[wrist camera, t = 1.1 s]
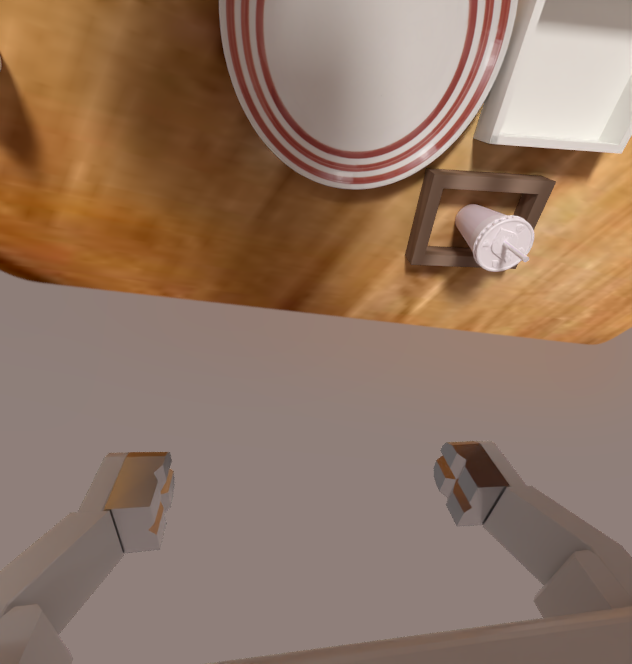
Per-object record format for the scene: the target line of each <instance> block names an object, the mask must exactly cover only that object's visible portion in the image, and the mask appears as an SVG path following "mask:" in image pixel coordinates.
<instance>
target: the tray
mask: <svg viewBox="0 0 632 664" xmlns="http://www.w3.org/2000/svg"><path fill="white" fill-rule="evenodd" d="M631 135H632V0H518V5H517V11H516V17H515V21H514V26H513V30H512V34H511V38H510V42H509V45H508V48H507V52H506V54H505V57H504V60H503V63H502V65H501V68H500V70H499V72H498V75H497V77H496V80H495V82H494V84H493V86H492V88H491V90H490V92H489V94H488V96H487V97H486V99H485V101H484V104H483V108H482V111H481V114H480V117H479V121H478V124H477V127H476V130H475V134H474V137H473V139H476V140H479V141H482V142H485V143H488V144H499V145H513V146H526V147H540V148H554V149H567V150H581V151H594V152H608V153H622V151H623V150H624V148H625V146H626V144H627V142H628V141H629V139H630V137H631Z"/></svg>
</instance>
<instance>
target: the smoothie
mask: <svg viewBox="0 0 632 664" xmlns="http://www.w3.org/2000/svg"><path fill="white" fill-rule="evenodd" d="M455 224H456V227H457V228H458V230H459V231H460V233H461V235H462V236H463V238H464V239H465V241H466V242H467V244H468V245H469V247H470V248H471V250H472V252H473V257H474V259H475V261H476V263H477V264H478V265H480V266H481V267H482V268H483V269H485V270H487V271H492V272H499V271H504V270H507V269H509V268H511V267H513V266H515V265H516V264H518V263H519V262H520V261H524V262H527V261H528V260H529V257H527V256H526V255H527V254H528V252H529V251H530V249H531V247H532V245H533V241H534V230H533V228H532V226H531V225H530V224H529V223H528V222H527V221H526V220H525V219H523V218H521V217H519V216H513V215H509V216H508V215H505V214H502V213H499V212H496V211H494V210H491V209H488V208H485V207H482V206H480V205H477V204H469V205H466V206H464V207H463V208H462V209H461V210H460V211H459V212H458V214H457V216H456V219H455Z"/></svg>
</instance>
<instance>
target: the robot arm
mask: <svg viewBox="0 0 632 664" xmlns="http://www.w3.org/2000/svg"><path fill="white" fill-rule="evenodd" d="M441 453H442V454H443V456H441V457H440V458H439V459H437V460H436V463H435V466H434V478H435V482H436V485H437V487H438V489H439V491H440V492H441V493H442V494H443V495H445V496H446V497H447V503H446V506H447V508H448V510H449V511H450V514H451V515H452V518H453V519H454V522H455V524H456V526H474V525H483V527H484V528H485V529H486V530H487V531H488V532H489V533H490V534H491V535H492V536H493V537H494V538H495V539H496V540H497V541H498V542H499V543H500V544H501V545H502V546H503V547H504V548H506V549H507V550H508V551H509V552H510V553H511V554H512V555H513V556H514V557H515V558H516V559H517V560H518V561H519V562H520V563H521V564H522V565H523V566H524V567H525V568H526V569H527V570H528V571H529V572H531V573H532V574H533V575H534V576H535V577H536V578H537V579H538V580H539V581H540V582H541V583H542V584H543V585H544V586H543V587H542V589H541V590H540V591H539V592H538V593H537V594H536V595H535V598H534V602H535V604H536V606H537V608H538V610H539V611H540V613H541V615H542V617H543V618H540V619H533V620H526V621H519V622H511V623H503V624H496V625H488V626H482V627H473V628H466V629H459V630H451V631H444V632H437V633H429V634H422V635H414V636H407V637H400V638H392V639H385V640H377V641H370V642H362V643H355V644H348V645H341V646H333V647H326V648H319V649H311V650H303V651H296V652H289V653H281V654H274V655H266V656H259V657H251V658H245V659H237V660H230V661H222V662H215V663H208V664H632V557H631V556H630V555H629V553H628V552H627V551H626V550H625V549H624V548H623V546H622V545H620V544H619V543H617V542H616V541H614V540H613V539H611V538H610V537H608V536H606V535H605V534H604V533H602V532H601V531H599V530H598V529H596V528H595V527H593V526H592V525H590V524H588V523H587V522H585V521H584V520H582V519H581V518H579V517H578V516H576V515H575V514H573V513H572V512H570V511H569V510H567V509H566V508H564V507H563V506H561V505H560V504H558V503H557V502H555V501H554V500H552V499H551V498H549V497H548V496H546V495H545V494H543V493H542V492H540V491H539V490H537V489H536V488H534V487H533V486H527V485H526V484H525V482H524V481H523V480H522V478H521V477H520V476H519V474H518V473H517V472H516V470H515V469H514V468H513V466H512V465H511V464H510V462H509V461H508V460H507V458H506V457H505V456H504V454H503V453H502V452H501V450H500V449H499V448H498V446H497V445H496V444H495V443H494V442H492V441H476V442H475V441H467V442H447V443H445V444H444V445H443V446H442V448H441ZM171 462H172V459H171V454H170V452H130V453H129V452H128V453H109V454H108V455H107V456H106V457H105V458H104V459H103V462H102V463H101V465H100V467H99V469H98V471H97V473H96V476H95V478H94V480H93V482H92V484H91V486H90V488H89V490H88V492H87V494H86V496H85V498H84V500H83V502H82V504H81V506H80V508H79V510H78V512H73V513H70V514H69V515H67V516H66V517H65V518H64V519H62V520H61V521H60V522H59V523H58V524H56V525H55V526H54V527H53V528H52V529H51V530H49V531H48V532H47V533H46V534H44V535H43V536H42V537H41V538H40V539H38V540H37V541H36V542H35V543H33V544H32V545H31V546H30V547H29V548H27V549H26V550H25V551H24V552H23V553H21V554H20V555H19V556H18V557H16V558H15V559H14V560H13V561H12V562H10V563H9V564H8V565H7V566H6V567H4V568H3V569H2V570H1V571H0V664H72V661H73V657H72V655H71V653H70V651H69V650H68V648H67V647H66V645H65V644H64V642H63V641H62V640H61V638H60V637H59V634H60V633H61V631H62V630H63V629H64V628H65V626H66V625H67V624H68V623H69V622H70V620H71V619H72V618H73V617H74V616H75V614H76V613H77V612H78V610H80V608H81V607H82V606H83V605H84V603H85V602H86V601H87V600H88V599H89V597H90V596H91V595H92V594H93V593H94V591H95V590H96V589H97V588H98V586H99V585H100V584H101V583H102V582H103V580H104V579H105V578H106V577H107V576H108V574H109V573H110V572H111V570H112V569H113V568H114V567H115V566H116V565H117V564H118V562H119V561H120V560H121V559H122V557H123V556H124V554H123V553H132V552H142V551H151V550H159V549H160V547H161V543H162V539H163V535H164V531H165V527H166V518H165V512H166V511H167V510H168V509H169V508H170V507H171V503H172V498H173V492H174V471H172V470H171V469H170V465H171Z"/></svg>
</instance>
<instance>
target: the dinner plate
mask: <svg viewBox="0 0 632 664" xmlns="http://www.w3.org/2000/svg"><path fill="white" fill-rule="evenodd" d="M517 5H518V0H219V19H220V30H221V39H222V45H223V50H224V55H225V59H226V64H227V68H228V71H229V75H230V78H231V81H232V84H233V87H234V90H235V92H236V95H237V97H238V100H239V102H240V104H241V106H242V108H243V110H244V112H245V114H246V116H247V118H248V120H249V121H250V123H251V125H252V126H253V128H254V130H255V131H256V133H257V134H258V135H259V137H260V138H261V139H262V141H263V142H264V143H265V144H266V145H267V147H268V148H269V149H270V150H271V151H272V152H273V153H274V154H275V155H276V156H277V157H278V158H279V159H280V160H281V161H282V162H284V163H285V164H286V165H287V166H289V167H290V168H291V169H293V170H294V171H296V172H297V173H299V174H301V175H303V176H304V177H306V178H308V179H310V180H312V181H315V182H317V183H320V184H323V185H326V186H330V187H335V188H341V189H354V190H357V189H371V188H377V187H381V186H385V185H389V184H392V183H395V182H397V181H400V180H402V179H405V178H407V177H409V176H411V175H413V174H415V173H416V172H418V171H420V170H421V169H423V168H424V167H426V166H427V165H429V164H430V163H432V162H433V161H434V160H435V159H437V158H438V157H439V156H440V155H441V154H442V153H444V152H445V151H446V150H447V149H448V148H449V147H450V146H451V145H452V144H453V143H454V142H455V141H456V140H457V139H458V137H459V136H460V135H461V134H462V133H463V131H464V130H465V129H466V128H467V127H468V125H469V124H470V123H471V121H472V120H473V118H474V117H475V115H476V114H477V112H478V111H479V109H480V108H481V106H482V104H483V103H484V101H485V99H486V97H487V96H488V94H489V92H490V90H491V88H492V86H493V84H494V82H495V80H496V77H497V75H498V72H499V70H500V68H501V65H502V63H503V60H504V57H505V54H506V52H507V48H508V45H509V42H510V38H511V34H512V30H513V26H514V21H515V17H516V11H517Z"/></svg>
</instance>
